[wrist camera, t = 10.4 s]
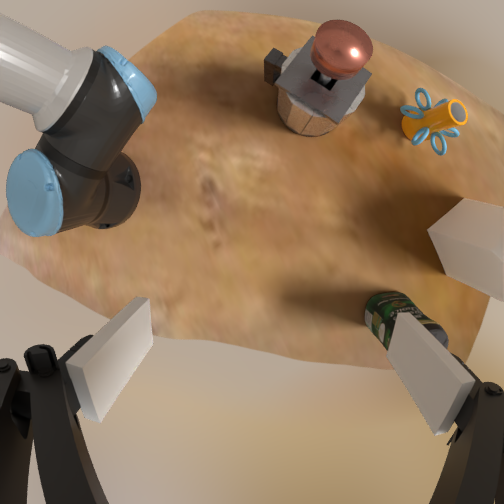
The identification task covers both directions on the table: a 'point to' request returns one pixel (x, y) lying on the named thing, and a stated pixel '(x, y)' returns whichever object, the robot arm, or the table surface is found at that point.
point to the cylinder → (433, 120)
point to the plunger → (340, 50)
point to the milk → (472, 245)
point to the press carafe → (311, 92)
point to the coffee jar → (385, 314)
